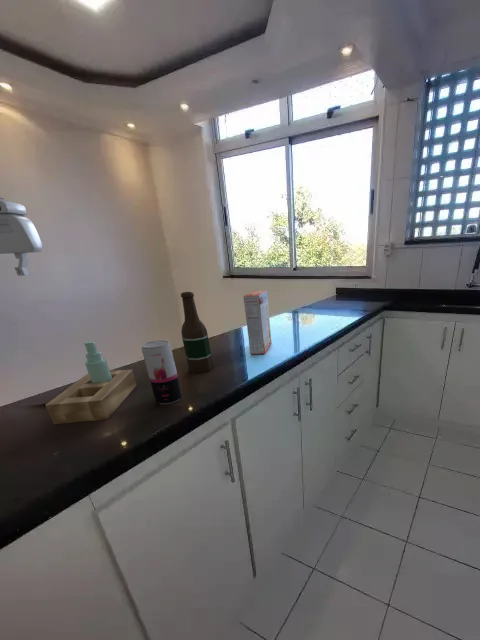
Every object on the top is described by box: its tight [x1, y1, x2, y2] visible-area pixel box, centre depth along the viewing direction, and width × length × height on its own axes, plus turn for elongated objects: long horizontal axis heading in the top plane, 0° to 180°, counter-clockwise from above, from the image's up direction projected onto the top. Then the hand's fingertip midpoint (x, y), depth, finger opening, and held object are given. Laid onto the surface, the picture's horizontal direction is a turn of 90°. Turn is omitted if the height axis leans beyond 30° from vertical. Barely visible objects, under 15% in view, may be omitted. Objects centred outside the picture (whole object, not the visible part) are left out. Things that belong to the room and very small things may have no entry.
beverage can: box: [141, 339, 183, 405], centre depth 78 cm, size 7×6×15 cm
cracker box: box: [243, 289, 272, 355], centre depth 115 cm, size 14×6×21 cm, turn 174°
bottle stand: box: [45, 368, 138, 425], centre depth 80 cm, size 12×21×5 cm, turn 8°
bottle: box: [83, 340, 112, 383], centre depth 82 cm, size 5×5×15 cm
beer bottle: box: [180, 291, 214, 374], centre depth 96 cm, size 8×8×24 cm
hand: (1, 276), depth 70 cm, fingers open, 8 cm apart
